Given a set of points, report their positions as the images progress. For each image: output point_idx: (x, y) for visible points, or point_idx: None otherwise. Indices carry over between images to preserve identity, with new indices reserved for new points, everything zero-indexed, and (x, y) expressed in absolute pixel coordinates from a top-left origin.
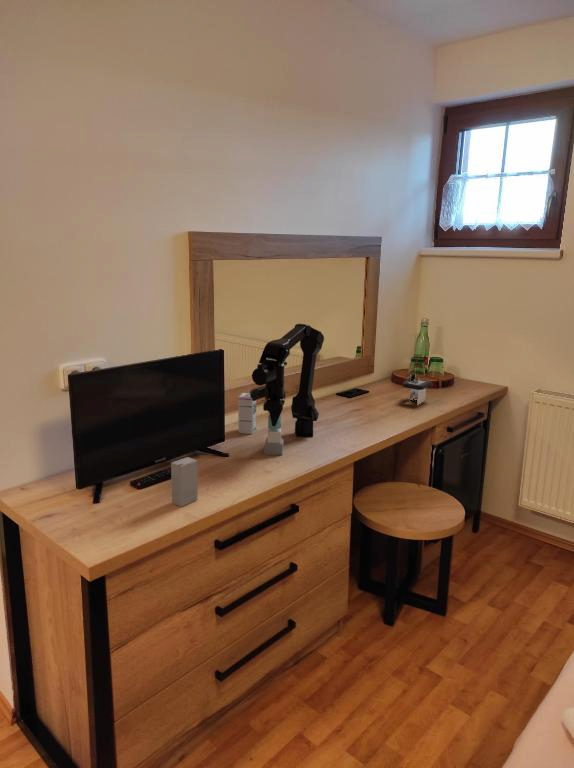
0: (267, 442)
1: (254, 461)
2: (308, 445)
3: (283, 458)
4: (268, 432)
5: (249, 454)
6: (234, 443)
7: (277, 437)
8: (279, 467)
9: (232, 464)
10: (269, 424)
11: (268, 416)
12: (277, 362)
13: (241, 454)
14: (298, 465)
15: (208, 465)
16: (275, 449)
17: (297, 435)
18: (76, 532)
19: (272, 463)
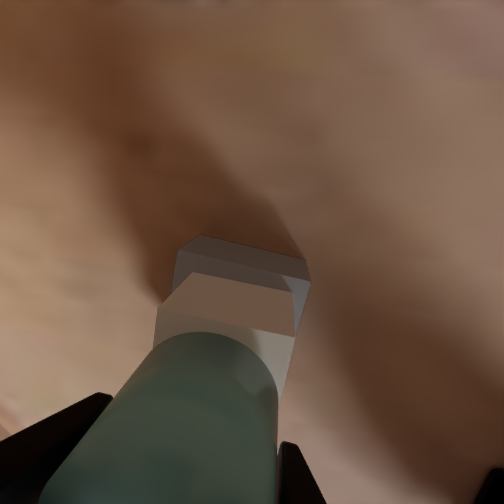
0: (202, 272)
1: (81, 159)
2: (321, 487)
3: (132, 327)
4: (160, 311)
5: (196, 136)
6: (437, 29)
7: None
8: (9, 286)
9: (24, 7)
10: (143, 369)
11: (126, 448)
12: None
13: (198, 79)
14: (43, 378)
15: None
16: None
17: (491, 478)
18: None
19: (59, 259)
